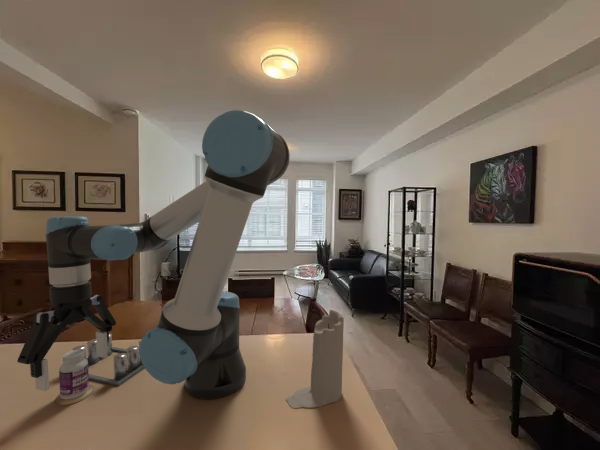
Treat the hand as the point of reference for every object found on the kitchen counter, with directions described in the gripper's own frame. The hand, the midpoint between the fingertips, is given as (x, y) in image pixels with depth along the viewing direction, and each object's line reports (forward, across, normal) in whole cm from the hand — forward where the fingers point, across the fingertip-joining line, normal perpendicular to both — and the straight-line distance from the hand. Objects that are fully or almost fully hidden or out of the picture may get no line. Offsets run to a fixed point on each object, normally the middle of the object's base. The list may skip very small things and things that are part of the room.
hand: (75, 371), depth 67 cm
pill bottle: (+6, 0, 0) cm, 6 cm away
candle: (+7, -16, +54) cm, 57 cm away
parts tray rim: (+6, -12, -3) cm, 14 cm away
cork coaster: (+6, 0, 0) cm, 6 cm away
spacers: (+6, -12, -3) cm, 14 cm away
